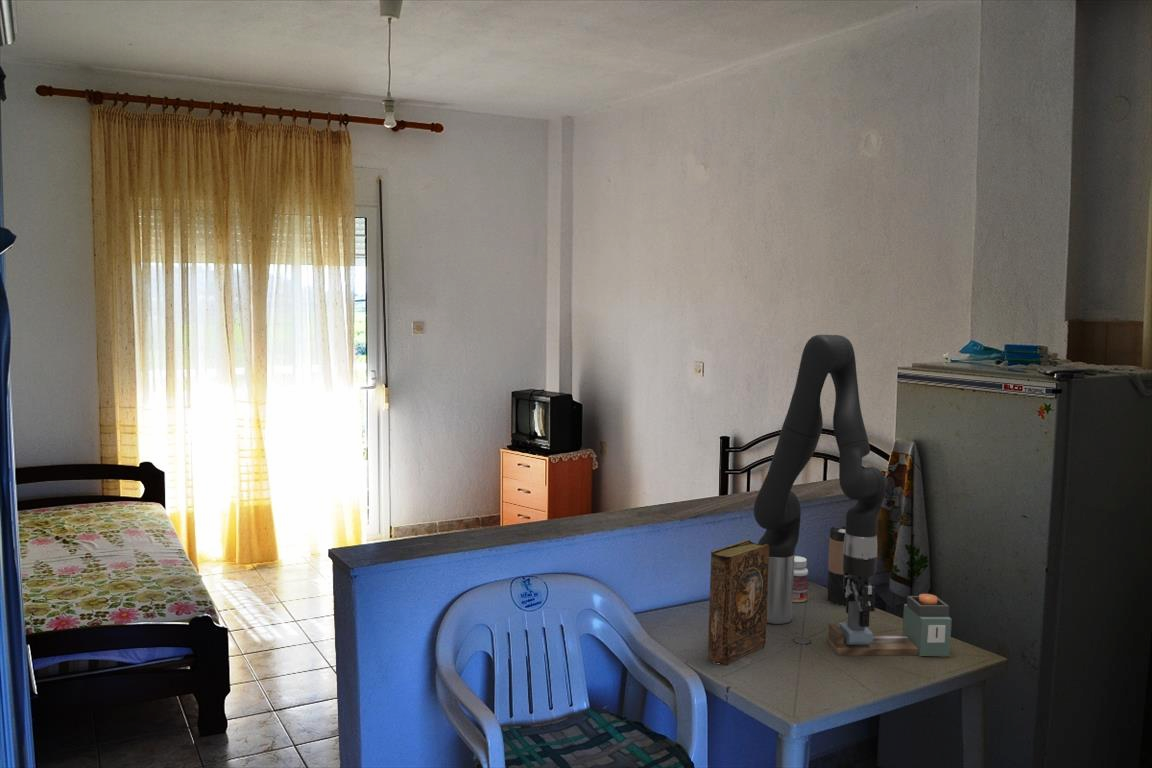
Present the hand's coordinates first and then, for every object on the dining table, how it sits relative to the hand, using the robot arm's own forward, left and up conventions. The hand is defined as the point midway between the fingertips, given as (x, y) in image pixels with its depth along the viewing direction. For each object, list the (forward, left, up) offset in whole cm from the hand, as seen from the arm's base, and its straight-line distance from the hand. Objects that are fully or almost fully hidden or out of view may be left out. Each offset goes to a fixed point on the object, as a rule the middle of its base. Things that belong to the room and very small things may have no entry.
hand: (857, 619), depth 214 cm
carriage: (0, 0, -5) cm, 5 cm away
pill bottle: (-4, +34, -7) cm, 35 cm away
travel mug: (+8, +32, -7) cm, 34 cm away
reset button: (+17, 0, +4) cm, 17 cm away
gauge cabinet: (+17, 0, -7) cm, 18 cm away
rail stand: (+4, 0, -7) cm, 8 cm away
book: (-29, -2, -7) cm, 30 cm away
